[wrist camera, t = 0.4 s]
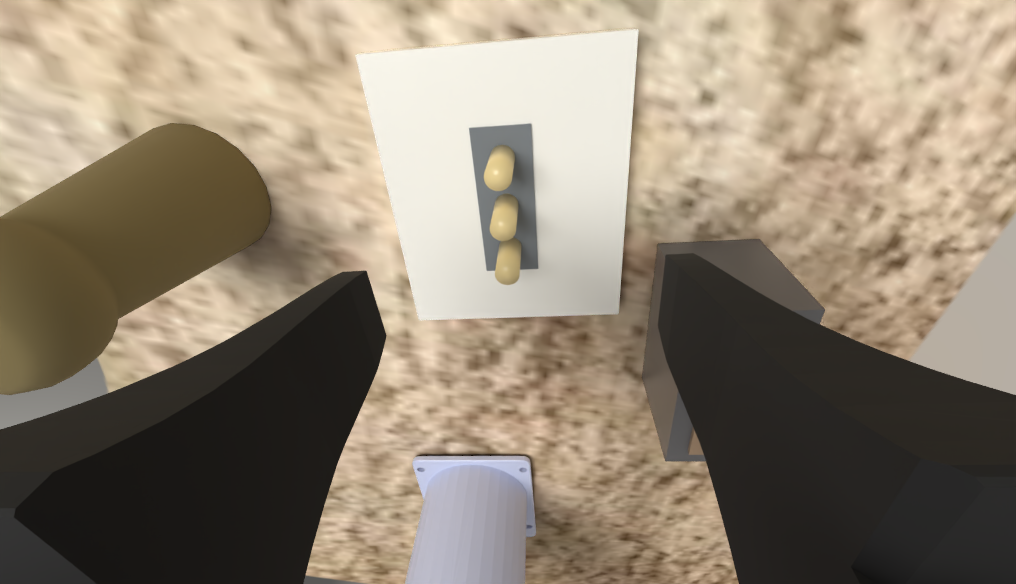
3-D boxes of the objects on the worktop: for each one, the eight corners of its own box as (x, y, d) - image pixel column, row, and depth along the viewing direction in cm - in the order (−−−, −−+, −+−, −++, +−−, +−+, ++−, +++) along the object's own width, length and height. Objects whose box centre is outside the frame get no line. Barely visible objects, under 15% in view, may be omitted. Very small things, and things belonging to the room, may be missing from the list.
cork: (265, 142, 19) (7, 274, 10) (275, 261, 22) (90, 444, 13) (119, 107, 18) (-297, 212, 9) (151, 234, 22) (-131, 403, 13)
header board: (615, 302, 22) (627, 347, 19) (423, 308, 23) (406, 352, 20) (633, 27, 16) (654, 33, 13) (364, 51, 17) (327, 62, 14)
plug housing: (724, 375, 25) (768, 465, 20) (641, 377, 25) (666, 465, 20) (759, 239, 20) (828, 313, 15) (657, 243, 20) (693, 317, 16)
